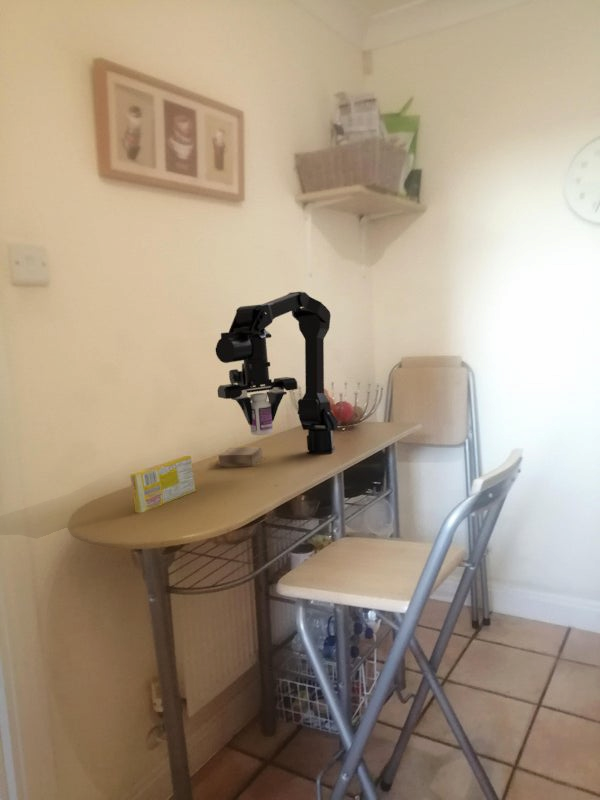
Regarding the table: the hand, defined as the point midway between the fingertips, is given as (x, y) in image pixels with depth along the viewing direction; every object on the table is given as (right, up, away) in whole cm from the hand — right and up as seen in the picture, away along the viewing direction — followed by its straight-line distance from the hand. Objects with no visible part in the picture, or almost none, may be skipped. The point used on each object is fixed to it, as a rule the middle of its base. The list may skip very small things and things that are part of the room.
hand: (261, 423), depth 148 cm
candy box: (-19, -17, -16) cm, 30 cm away
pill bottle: (0, -3, 0) cm, 3 cm away
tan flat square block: (-6, -11, +15) cm, 20 cm away
